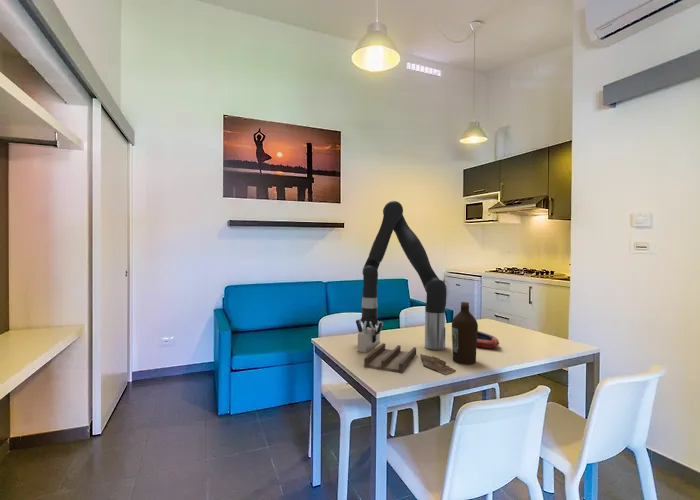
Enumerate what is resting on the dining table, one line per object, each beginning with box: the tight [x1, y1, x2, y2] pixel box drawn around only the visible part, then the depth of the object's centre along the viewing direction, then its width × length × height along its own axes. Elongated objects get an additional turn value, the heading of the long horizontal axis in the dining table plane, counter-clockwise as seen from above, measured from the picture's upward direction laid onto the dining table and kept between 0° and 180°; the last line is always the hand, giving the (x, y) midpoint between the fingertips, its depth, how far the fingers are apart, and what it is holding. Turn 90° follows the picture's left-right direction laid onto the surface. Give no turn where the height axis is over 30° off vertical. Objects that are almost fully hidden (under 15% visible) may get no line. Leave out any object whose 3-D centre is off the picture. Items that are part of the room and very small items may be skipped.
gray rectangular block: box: [357, 324, 381, 353], centre depth 171 cm, size 4×20×8 cm, turn 157°
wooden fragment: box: [419, 353, 457, 376], centre depth 147 cm, size 26×11×1 cm, turn 8°
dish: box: [477, 330, 500, 349], centre depth 180 cm, size 16×31×5 cm, turn 18°
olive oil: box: [451, 301, 479, 365], centre depth 150 cm, size 11×11×25 cm
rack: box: [363, 343, 417, 374], centre depth 150 cm, size 16×24×4 cm, turn 157°
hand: (369, 341), depth 171 cm, fingers closed on gray rectangular block, 4 cm apart
